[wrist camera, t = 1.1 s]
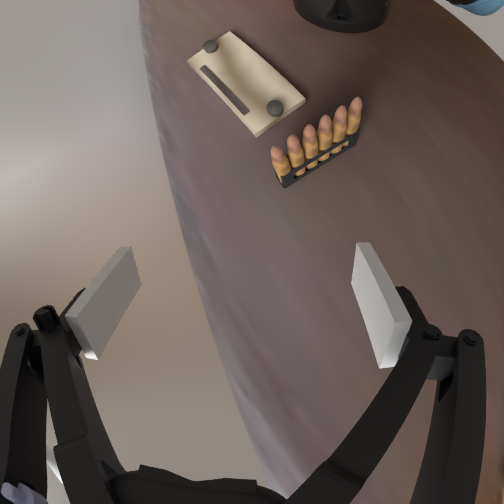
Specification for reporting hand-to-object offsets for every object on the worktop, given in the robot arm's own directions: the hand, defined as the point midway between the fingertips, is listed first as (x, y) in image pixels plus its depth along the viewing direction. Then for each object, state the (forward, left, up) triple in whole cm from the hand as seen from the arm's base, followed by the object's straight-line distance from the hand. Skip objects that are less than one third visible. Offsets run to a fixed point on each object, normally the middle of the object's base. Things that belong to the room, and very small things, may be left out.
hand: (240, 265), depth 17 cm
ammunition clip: (-11, -6, -19) cm, 23 cm away
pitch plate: (-11, -22, -19) cm, 31 cm away
